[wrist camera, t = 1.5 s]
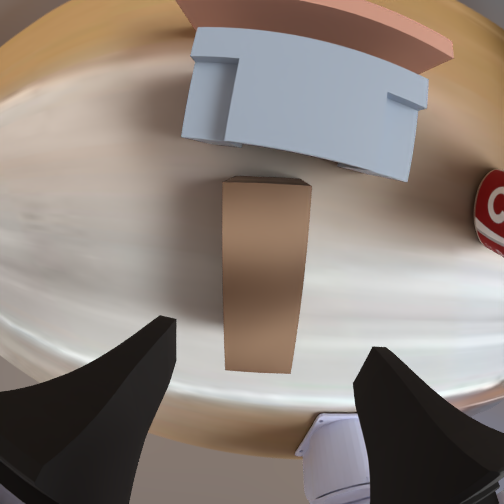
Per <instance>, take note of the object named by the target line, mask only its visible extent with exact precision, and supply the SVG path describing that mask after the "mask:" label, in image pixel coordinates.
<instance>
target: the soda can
mask: <svg viewBox="0 0 504 504" xmlns="http://www.w3.org/2000/svg"><path fill="white" fill-rule="evenodd" d="M474 225H475V230H476V233H477V236H478V238H479V240H480V242H481V243H482V244H483V245H484V246H485V247H487V248H489V249H490V250H492V251H494V252H496V253H497V254H499V255H501V256H502V257H504V170H502V169H494V170H492V171H490V172H489V173H487V174H486V176H485V177H484V178H483V180H482V181H481V183H480V185H479V187H478V190H477V193H476V197H475V203H474Z"/></svg>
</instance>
